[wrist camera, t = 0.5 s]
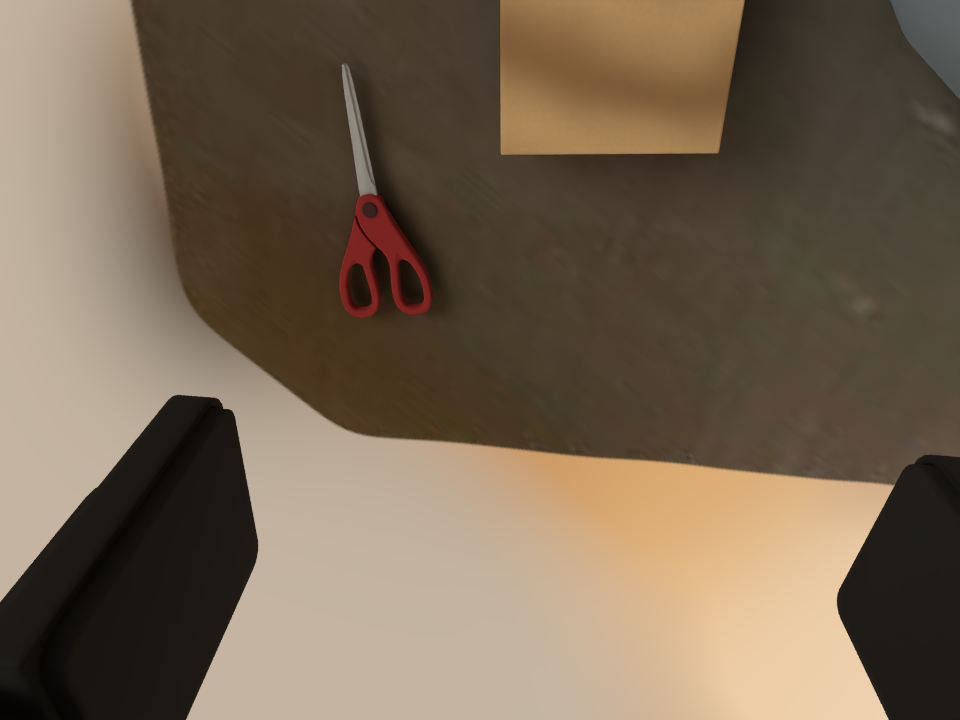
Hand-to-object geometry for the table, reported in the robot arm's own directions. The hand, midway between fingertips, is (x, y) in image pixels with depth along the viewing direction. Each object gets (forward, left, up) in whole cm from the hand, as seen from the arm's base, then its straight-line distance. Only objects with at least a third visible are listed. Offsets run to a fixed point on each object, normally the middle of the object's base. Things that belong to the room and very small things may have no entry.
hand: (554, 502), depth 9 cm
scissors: (+4, -9, -28) cm, 29 cm away
